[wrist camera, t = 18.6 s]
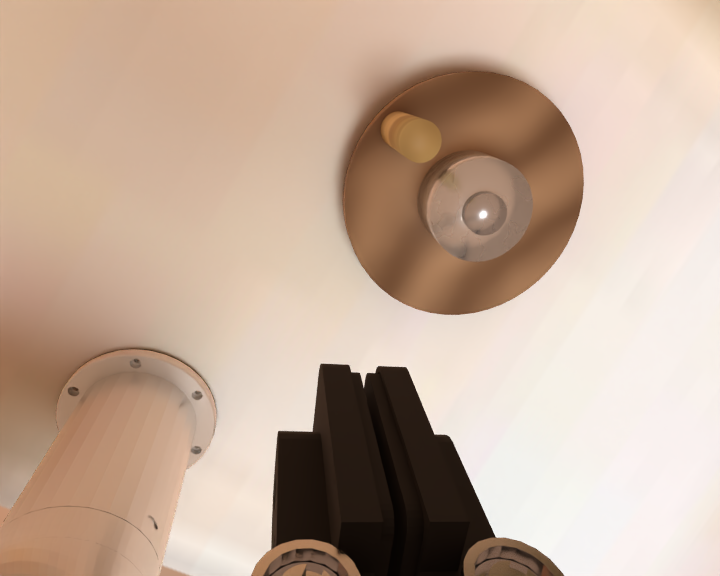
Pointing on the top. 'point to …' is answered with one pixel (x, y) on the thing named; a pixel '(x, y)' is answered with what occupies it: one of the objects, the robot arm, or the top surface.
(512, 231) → the cover
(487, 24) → the top surface
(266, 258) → the top surface
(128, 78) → the top surface
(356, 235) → the turntable
